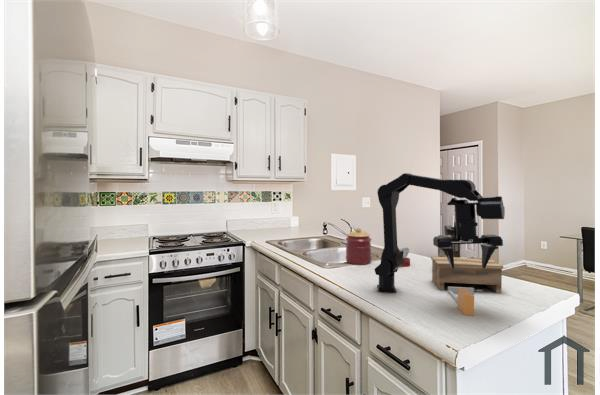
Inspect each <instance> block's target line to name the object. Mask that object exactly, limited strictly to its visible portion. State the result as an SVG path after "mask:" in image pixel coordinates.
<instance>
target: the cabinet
mask: <svg viewBox="0 0 600 395" xmlns="http://www.w3.org/2000/svg"><path fill="white" fill-rule="evenodd" d="M430 259H431V262H432V266H431V267H432V269H431V271H432V272H431V281H432V283H433V284H434V285H435V286H436V288H437V289H438V290H439V291H445V283H448V284H450V283H451V284H452V283H453V284H469V285H471V284H472V285H485V286H487V287H488V288H489V289H491V290H492V291H493V292H495V293H496V294H502V285H503V284H502V279H503V276H502V275H503V274H502V273H503V269H504V265H502V264H501V263H499V262H497V261H495V260H493V259H492V258H490V259H489V261H488V263H487V265H486V267H485V268H483V267H482V257H481V258H479V257H460V258H456V257H454V269H452V268H451V266H450V263H449V261H448V259H447V257H438V256H431V257H430Z"/></svg>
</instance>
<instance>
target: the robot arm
mask: <svg viewBox="0 0 600 395" xmlns="http://www.w3.org/2000/svg"><path fill="white" fill-rule="evenodd" d="M409 186H415V187H419V188H425V189H431V190H436V191H441V192H443V193H445V194H448V195H450V196H453V197H452V198H451V199H450V200H449V201H448V202H447V206H454V220H455V221H454V223H453V225H454V226H452V225H450V224H449V225H444V227H443V228H444V235H442V236H438V235H437V236H434V237H433V238H432V241H433V246H435V247H437V249H438V248H440V249H442V250H443V251H444V253H445V254H446V256H447V259H448V261H449V263H450V266H451V268H452V269H454V257H453V248H451V247H450V246H451V245H452V244H460V245H471V244H472V245H475V244H476V245H479V244H480V245H479V246H480V248H481V258H482V267H483V268H485V267H486V265H487V263H488V261H489V259H491V257H492V255H493V253H494V252H495V250H498V249H499V247H503V246H504V241H503V238H502V237H501V236H499V235H497V234H482V235H481V236H480V237H479V236H478V234H477V227H478V222H477V219H476V217H480V218H481V220H504V219H505V212H506V210H505V209H506V208H505V206H504V200H503V197H502V196H500V195H499V196H493V197H492V196H490V197H489V196H488V197H487V196H486V197H483V196H482V194H480V192H478V190H476V184H475V183H474V182H473V181H472V180H470V179H441V178H435V177H429V176H424V175H418V174H417V175H416V174H412V173H406V172H405V173H402V174H401V175H399V176H398V177H396V178H394V179H393V180H391V181H389V182H388V183H387V184H382V185H380V186H379V187H378V189H377V191H376V192H377V193H376V194H377V198H378V202H379V204H380V206H381V208H382V222H383V225H382V226H383V245H384V246H383V250H382V253H381V255H380V256H381V258H380V263H379V264H378V265H377V266H376V267H375V268H374V274H375V275H376V276H378V284H376V287H377V291H378V292H381V293H397V289H396V286H395V273H397V272H398V270H399V269H400V268H402V267H401V266H402V263H403V262H404V259H403V251H400V249H399V246H398V230H397V228H398V227H397V206H398V203H399V198H400V194H401V193H402V192H404V191H405V190H406V189H407V188H408V187H409ZM457 198H458V199H457ZM463 198H465V199H463ZM474 201H475V202H474ZM447 236H451V239H450V238H449V237H447Z"/></svg>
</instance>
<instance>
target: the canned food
mask: <svg viewBox="0 0 600 395" xmlns="http://www.w3.org/2000/svg"><path fill="white" fill-rule="evenodd" d="M399 250H400V251H403V259H404V262H403V263H402V266H401V267H400V268H406V267H410V266H411V258H409V257H408V255H409V252H410V249H409V247H403V248H400V249H399Z"/></svg>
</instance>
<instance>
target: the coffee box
mask: <svg viewBox="0 0 600 395" xmlns="http://www.w3.org/2000/svg"><path fill="white" fill-rule="evenodd" d="M437 236H443V235H440V234H438V235H437ZM447 237H449V238H450V239H451V235H449V236H447ZM450 247H451V248H453V257H456V258H461V244H452V245H451V246H450ZM437 257H447V256H446V254H445V253H444V251H443V250H442V249H440V248H438V247H437Z"/></svg>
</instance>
